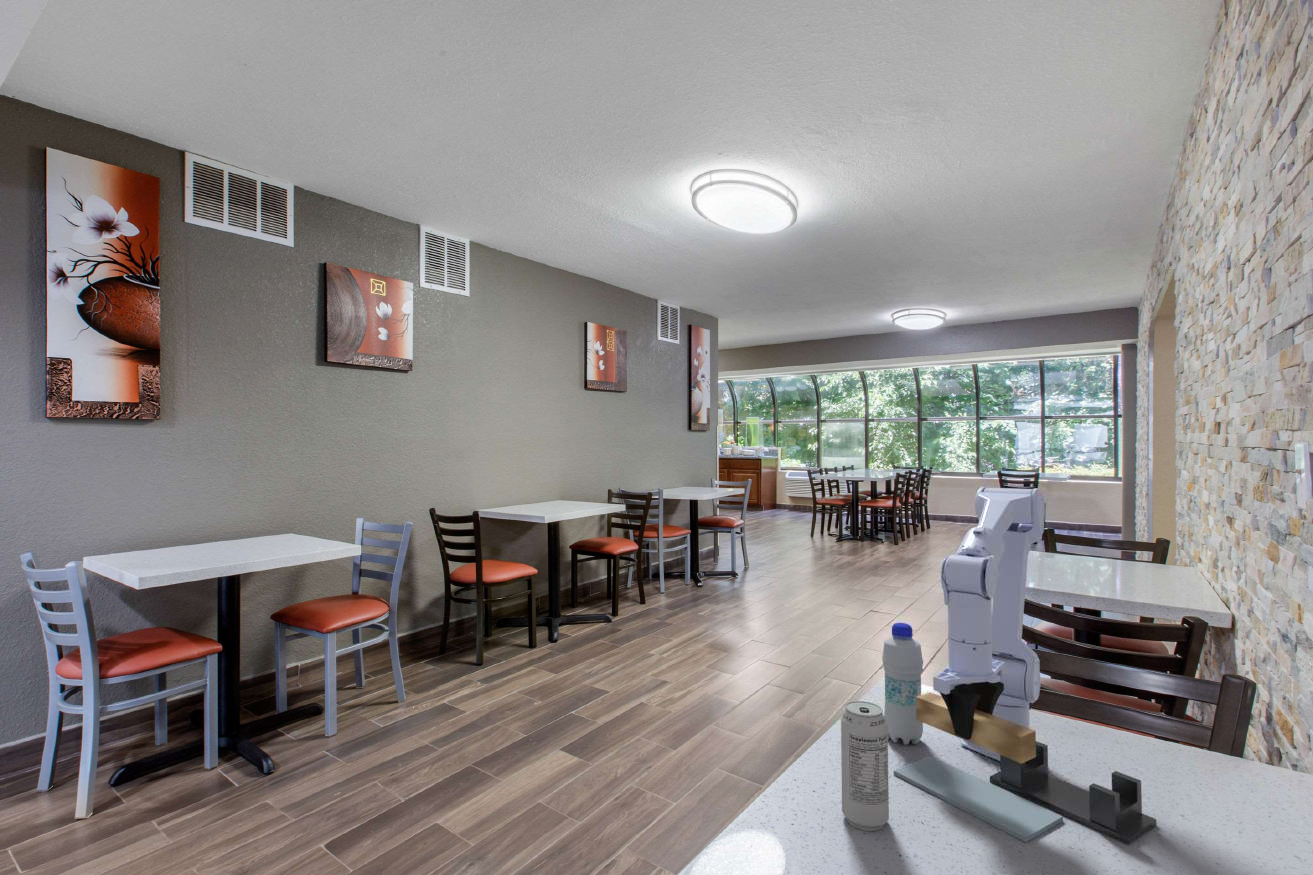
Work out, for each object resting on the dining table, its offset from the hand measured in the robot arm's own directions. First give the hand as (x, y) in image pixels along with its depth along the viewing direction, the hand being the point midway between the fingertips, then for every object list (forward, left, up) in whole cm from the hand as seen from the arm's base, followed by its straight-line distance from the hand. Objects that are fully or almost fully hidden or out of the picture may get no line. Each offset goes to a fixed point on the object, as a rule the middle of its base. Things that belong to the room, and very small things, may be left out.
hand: (971, 733), depth 91 cm
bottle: (-17, +7, -9) cm, 21 cm away
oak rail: (0, 0, 0) cm, 1 cm away
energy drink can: (-4, -18, -9) cm, 21 cm away
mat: (0, 0, -9) cm, 9 cm away
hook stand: (+8, +10, -9) cm, 16 cm away
